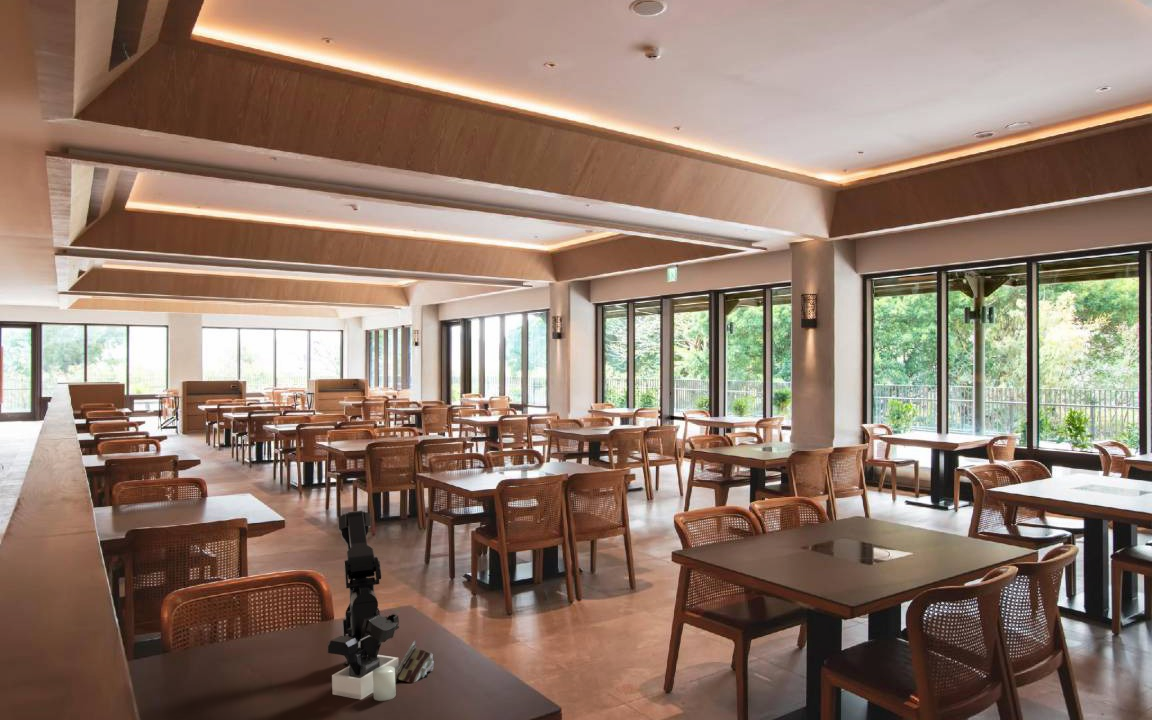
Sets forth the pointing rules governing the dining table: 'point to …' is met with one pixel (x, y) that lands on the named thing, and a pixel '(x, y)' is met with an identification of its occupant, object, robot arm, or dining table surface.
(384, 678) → the white pillar candle
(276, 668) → the dining table surface
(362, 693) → the tote
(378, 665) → the iron block
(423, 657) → the chocolate cake
